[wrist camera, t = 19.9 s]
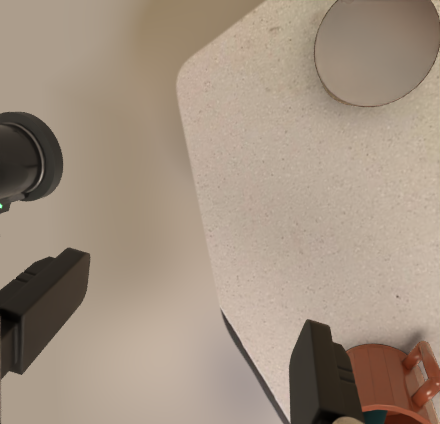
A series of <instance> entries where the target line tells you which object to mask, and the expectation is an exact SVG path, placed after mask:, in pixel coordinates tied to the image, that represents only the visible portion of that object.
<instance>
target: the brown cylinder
mask: <svg viewBox="0 0 440 424" xmlns="http://www.w3.org/2000/svg"><path fill="white" fill-rule="evenodd" d="M439 47H440V20H439V16H438V13H437V11H436V8H435V6H434V4H433V3H432V1H431V0H337V1H336V2H335V3H334V4H333V5H332V7H331V8H330V9H329V10H328V12H327V13H326V15H325V17H324V18H323V20H322V22H321V24H320V26H319V29H318V32H317V35H316V40H315V46H314V60H315V66H316V69H317V72H318V75H319V78H320V80H321V82H322V84H323V86H324V88H325V90H326V91H327V93H328V94H329V95H330V96H331V97H332V98H334V99H335V100H337V101H338V102H341V103H343V104H347V105H354V106H361V107H375V106H381V105H385V104H389V103H391V102H394V101H396V100H398V99H400V98H402V97H404V96H405V95H407V94H408V93H410V92H411V91H412V90H413V89H415V88H416V87H417V86H418V85H419V84H420V83H421V82H422V81H423V80H424V78H425V77H426V76H427V74H428V73H429V71H430V70H431V68H432V66H433V64H434V62H435V60H436V57H437V54H438V51H439Z"/></svg>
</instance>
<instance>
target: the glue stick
mask: <svg viewBox="0 0 440 424" xmlns="http://www.w3.org/2000/svg"><path fill="white" fill-rule="evenodd" d="M387 412H388V410H372V411H366V412H363V416H364V420H365V424H384V422H385V418H386V415H387Z"/></svg>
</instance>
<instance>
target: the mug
mask: <svg viewBox="0 0 440 424" xmlns="http://www.w3.org/2000/svg"><path fill="white" fill-rule="evenodd" d="M346 353H347V354H348V356H349V357H350V361H351V365H352V369H353V372H352V373H354V378H355V384H356V386H357V390H358V395H359V399H360V403H361V407H362V412H366V411H372V410H388V412H387V415H386V418H385V422H384V424H440V422H439V420H438V417H437V414H436V411H435V408H434V405H433V402H432V398H433V397H434V396H435V395H436V394H437V393H438V392H439V391H440V368H439V366H438V363H437V361H436V359H435V356H434V354H433V351H432V349H431V346H430V344H429V343H428V342H426V341H420V342H419V343H418V344H417V345H416V346H415V347H414V348H413V349H412V350H411V352H410V353H409V354H408V355H407V354H405V353H404V352H402V351H400V350H398V349H396V348H393V347H390V346H386V345H381V344H365V345H359V346H356V347H353V348H351V349H349V350H347V351H346ZM421 360H422V362H423V365H424V368H425V370H426V373H427V376H428V379H427V380H426V381H425V379H424V377H423V374H422V372H421V370H420V368H419V366H418V365H417V364H418V363H419V362H420V361H421Z"/></svg>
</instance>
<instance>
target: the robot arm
mask: <svg viewBox="0 0 440 424" xmlns="http://www.w3.org/2000/svg"><path fill="white" fill-rule="evenodd" d="M45 173H46V157H45V153H44V150H43V148H42V145H41V144H40V142H39V140H38V139H37V137H36V136H35V135H34V134H33V133H32V132H31V131H30V130H29V129H28V128H26V127H25V126H23V125H21V124H18V123H14V122H6V123H0V214H1V213H3V212H6V211H9V208H10V204H11V202H14V201H18V200H21V199H24V198H27V197H28V196H29V193H30V192H31V191H33V190H35V189H36V188H38V187H39V186H40V184H41V183H42V182H43V180H44V177H45ZM89 266H90V254H89V253H86V252H82V251H79V250H76V249H72V248H67V249H65V250H64V251H63V252H62V253H61V254H60V255H58V256H57V257H56V258H53V257H47V258H45V259H42V260H39V261H37V262H35V263H33V264H32V265H31V266H30V267H28V268H27V269H26V270H25V271H24V272H22V273H21V274H20V275H19V276H17V277H16V279H13V280H12V281H11V282H10V283H9V284H7V285H6V286H5V287H4V288H2V289H1V290H0V424H1V379H2V378H3V377H4V376H5V375H6V374H7V372H8V371H11V372H14V373H18V374H21V375H22V374H23V373H24V372H25V371H26V369H27V368H28V367H29V366H30V365H31V363H32V362H33V361H34V360H35V358H36V357H37V356H38V355H39V354H40V353H41V351H42V350H43V349H44V347H46V345H47V344H48V343H49V342H50V341H51V339H52V338H53V337H54V336H55V334H56V333H57V332H58V331H59V330H60V328H61V327H62V326H63V325H64V324H65V322H66V321H67V320H68V319H69V318H70V316H71V315H72V314H73V313H74V312H75V310H76V309H77V308H78V307H79V305H80V304H81V303H82V301H83V299H84V297H85V294H86V291H87V284H88V275H89ZM352 372H353V369H352V365H351V361H350V357H349V356H348V354H347V353H346V351H345V350H344V348H343V347H342V345H341V344H337V343H334V342H333V341H332V336H331V330H330V327H329V325H326V324H322V323H319V322H316V321H312V320H309V319H307V320H306V322H305V324H304V326H303V328H302V331H301V333H300V335H299V338H298V340H297V342H296V345H295V347H294V349H293V352H292V355H291V359H290V365H289V384H290V419H291V424H365V420H364V416H363V412H362V407H361V403H360V399H359V395H358V390H357V386H356V384H355V378H354V373H352Z"/></svg>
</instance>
